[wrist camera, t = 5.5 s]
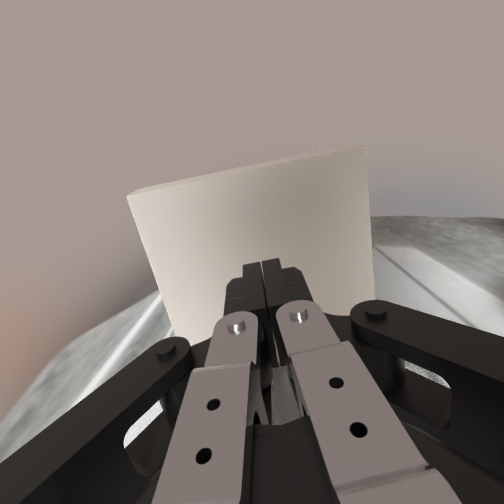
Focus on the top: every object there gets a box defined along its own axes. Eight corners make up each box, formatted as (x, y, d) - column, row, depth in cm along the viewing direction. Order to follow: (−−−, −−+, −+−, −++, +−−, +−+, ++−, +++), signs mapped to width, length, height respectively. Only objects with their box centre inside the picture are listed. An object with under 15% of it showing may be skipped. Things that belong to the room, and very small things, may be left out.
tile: (364, 322, 22) (349, 143, 17) (378, 345, 20) (365, 145, 15) (196, 352, 22) (141, 187, 18) (190, 378, 20) (126, 196, 16)
